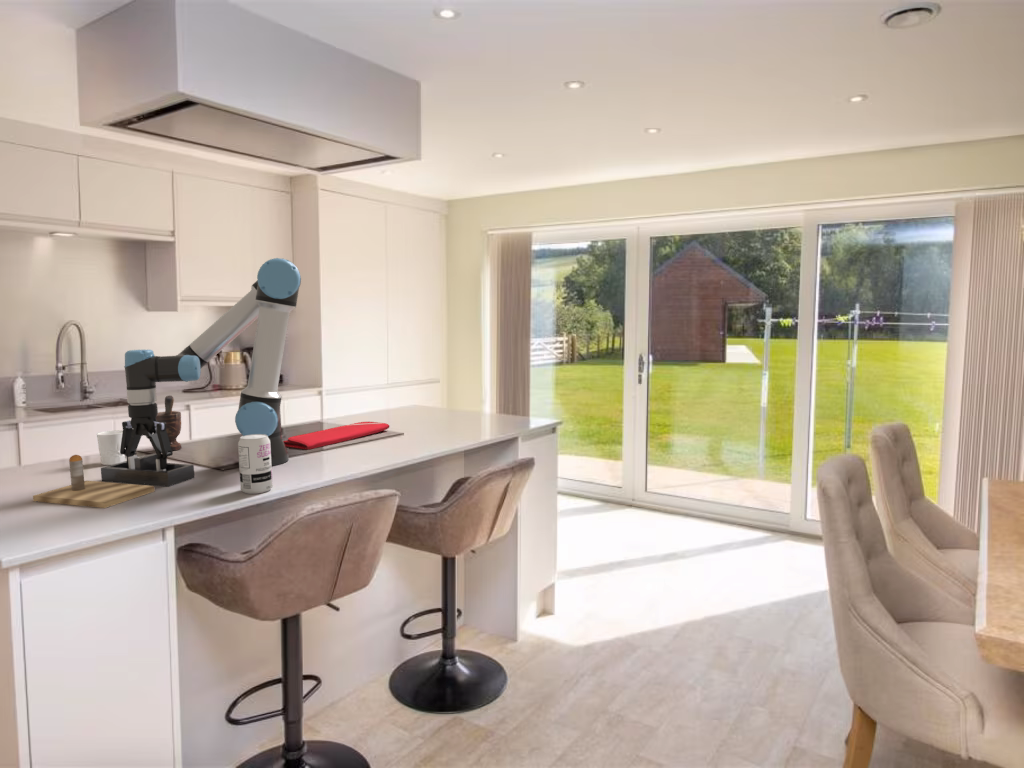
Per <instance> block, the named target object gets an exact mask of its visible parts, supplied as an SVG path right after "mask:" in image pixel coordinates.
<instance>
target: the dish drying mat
mask: <svg viewBox="0 0 1024 768" xmlns="http://www.w3.org/2000/svg"><path fill="white" fill-rule="evenodd" d="M388 429H390V424H389V423H387V422H386V423H385V422H377V421H361V422H354V423H350V424H347V425H341V426H335V427H331V428H326V429H323V430H318V431H313V432H308V433H303V434H298V435H293V436H290V437H288V438H287V439H286V440H283V441H284V444H285V447H286V448H294V449H300V450H304V451H307V450H312V449H317V448H321V447H326V446H329V445H334V444H338V443H343V442H347V441H351V440H355V439H358V438H361V437H364V436H365V437H366V436H369V435H373V434H377V433H381V432H384V431H386V430H388Z"/></svg>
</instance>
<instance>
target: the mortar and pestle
mask: <svg viewBox="0 0 1024 768" xmlns="http://www.w3.org/2000/svg"><path fill="white" fill-rule="evenodd" d="M174 401H175V399H174V396H172V395H170V394H169V395H166V396H165V398H164V409H165V411H160V412H159V411H158V415H157V416H156V420H157V422H159V423H163V422H165V423H166V431H167V435H168V438H169V442H170V445H171V449H172V452H173V450H174V451H179V450H180V449H182V444H181V443H180V442H178V441H177V438H178V436H179V435H180V434H181V430H182V412H181V411H177V410H173V408H174V407H173V406H174Z"/></svg>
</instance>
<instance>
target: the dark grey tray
mask: <svg viewBox="0 0 1024 768" xmlns="http://www.w3.org/2000/svg"><path fill="white" fill-rule="evenodd" d="M156 458H158V456H157V454H156V453H151V454H147V455H143V456H142V455H141V456H139V457H138V458H135V459H134V462H135V469H129V467H128V466H127V460H125V461H124V462H121V463H117V464H113V465H105V466H103V467H100V477H101V482H110V483H123V484H135V485H147V486H154V487H155V486H156V487H172V486H175V485H177V484H181V483H184V482H188V481H190V480H194V479H195V478H196V477H195V465H194V464H187V463H172V462H167V469H166V471H157V469H156Z"/></svg>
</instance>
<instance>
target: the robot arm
mask: <svg viewBox="0 0 1024 768" xmlns="http://www.w3.org/2000/svg"><path fill="white" fill-rule="evenodd" d="M257 271H258V272H257V277H256V278H257V280H256V281H255V282H254V283H252V284H251V286H250V287H251V289H250V291H248V293H246V294H245V295H244V296H243V297H242V298H241V299H240V300H239V301H237V302H236V303H235V304H234V305H232V307H230V308H229V309H228V310H227V311H226V312H225V313H224V314H223V315H222V316H221V317H219V318H218V319H217V320H216V321H215V322H214V323H212V325H210V326H209V327H208V328H206V330H204V331H203V332H202V333H201V334H200V335H199V336H197V338H195V339H194V340H193V341H192V342H191V343H190V344H189V345H188V346H186V347H185V348H184V349H183V350H181V351H180V352H179V353H178V354H176V355H167V356H166V355H165V356H163V355H162V356H159V355H158V356H157V355H155V354H154V350H153V349H130V350H127V351H125V353H124V366H123V367H124V372H125V382H126V399H127V401H126V402H127V403H128V405H127V412H128V414H127V415H128V417H129V418H130V420H126V421H122V422H121V427H122V431H123V433H122V441H121V448H120V453H121V454H124V455H125V458H126V461H127V466H128V467H129V469H135V462H134V459H135V458H139V457H138V455H137V449H138V447H139V444H140V441H141V438H142V436H145V437H146V439H148V440H149V442H150V445H151V446H152V448H153V450H154V452H155V454H157V456H158V458H156V469H157V471H166V469H167V463H168V457H170V456H172V455H173V453H174V452H173V451H172V449H171V445H170V442H169V438H168V435H167V431H166V423H165V422H163V423H159V422H157V420H156V416H157V415H158V413H159V410H158V403H156V402H157V400H158V399H157V383H165V382H167V383H169V382H170V383H171V382H175V383H176V382H186V383H187V382H193V381H198V380H199V379H200V378H201V373H202V372H201V369H203V368H204V367H205V366H206V365H207V364H208V362H210V361H211V360H212V359H214V358H215V357H216V356H217V354H219V353H221V351H223V349H224V348H226V347H227V346H228V345H229V344H230V343H231V342H233V341H234V340H235V339H236V338H237V337H238V336H239V335H241V334H242V333H243V332H244V331H246V329H247V328H248V327H250V326H251V325H252V324H253V323H254V322H255V321H256V320H257V324H256V330H255V336H254V342H253V348H252V349H253V350H252V355H251V361H250V362H251V363H250V368H249V375H248V381H247V386H246V387H245V388H243V389H242V390H241V391H240V397H239V404H238V409H237V411H236V413H235V417H234V422H235V425H236V429H237V430H238V432H239V433H240V434H241V435H242V436H245V435H252V434H265V435H267V436H268V438H269V440H270V446H271V465H272V466H276V465H277V466H278V465H281V464H284V463H287V462H288V461H289V451H288V450H287V446H285V444H284V441H285V440H284V439H283V435H282V417H281V416H282V415H281V404H282V398H283V397H282V395H281V394H280V392H279V389H278V388H279V382H280V375H281V371H282V370H281V369H282V363H283V359H284V351H285V346H286V345H285V344H286V338H287V332H288V326H289V320H290V314H291V312H292V311H293V310H295V309H296V308H297V304H298V303H297V302H298V297H299V291H300V287H301V284H302V283H301V282H302V281H301V280H302V277H301V273H300V271H299V269H298V267H297V266H296V264H294V263H293V262H292V261H290V260H289V259H285V258H278V257H276V258H270V259H268V260H266V261H264V263H263V264H261V266H260V267H259V270H257Z"/></svg>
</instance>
